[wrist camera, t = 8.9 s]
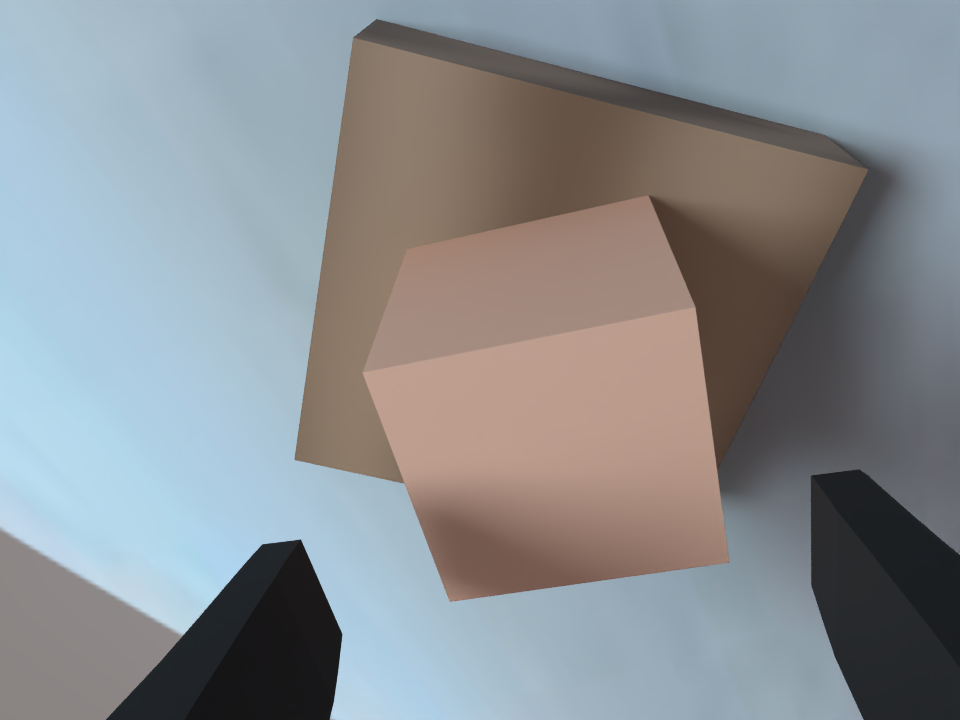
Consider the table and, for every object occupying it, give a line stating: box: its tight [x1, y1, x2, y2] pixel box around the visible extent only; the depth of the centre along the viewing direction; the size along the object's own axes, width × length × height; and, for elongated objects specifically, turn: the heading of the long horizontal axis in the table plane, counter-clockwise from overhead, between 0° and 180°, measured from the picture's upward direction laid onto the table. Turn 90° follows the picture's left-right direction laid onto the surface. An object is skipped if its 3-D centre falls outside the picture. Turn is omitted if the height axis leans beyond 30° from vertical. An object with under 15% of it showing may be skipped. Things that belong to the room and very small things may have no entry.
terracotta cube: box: [362, 195, 729, 602], centre depth 15 cm, size 5×5×5 cm
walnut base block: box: [295, 19, 868, 483], centre depth 18 cm, size 10×10×3 cm
